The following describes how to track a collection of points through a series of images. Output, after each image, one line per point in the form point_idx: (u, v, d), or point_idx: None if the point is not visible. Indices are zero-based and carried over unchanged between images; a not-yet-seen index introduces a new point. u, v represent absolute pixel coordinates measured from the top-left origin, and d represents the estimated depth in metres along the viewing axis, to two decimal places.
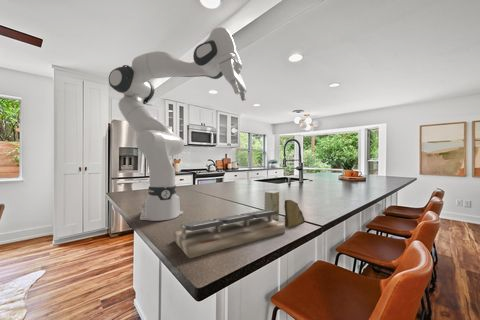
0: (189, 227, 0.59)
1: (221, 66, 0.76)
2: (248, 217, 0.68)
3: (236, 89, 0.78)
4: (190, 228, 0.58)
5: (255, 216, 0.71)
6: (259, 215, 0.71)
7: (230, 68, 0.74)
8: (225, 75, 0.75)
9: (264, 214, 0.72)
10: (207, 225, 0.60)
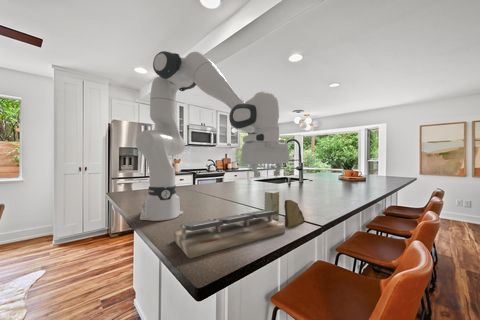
0: (189, 227, 0.59)
1: (242, 148, 0.69)
2: (248, 217, 0.68)
3: (255, 173, 0.70)
4: (190, 228, 0.58)
5: (255, 216, 0.71)
6: (259, 215, 0.71)
7: (247, 155, 0.67)
8: (242, 160, 0.69)
9: (264, 214, 0.72)
10: (207, 225, 0.60)
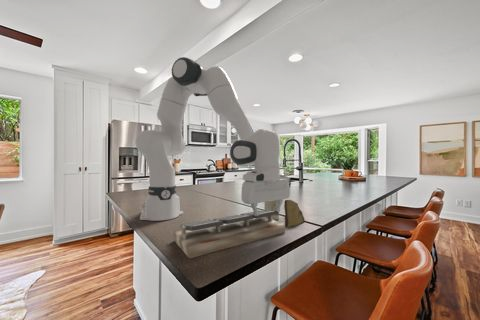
0: (189, 227, 0.59)
1: (242, 187, 0.69)
2: (248, 217, 0.68)
3: (255, 212, 0.70)
4: (190, 228, 0.58)
5: (255, 216, 0.71)
6: (259, 215, 0.71)
7: (246, 195, 0.66)
8: (242, 199, 0.69)
9: (264, 214, 0.72)
10: (207, 225, 0.60)
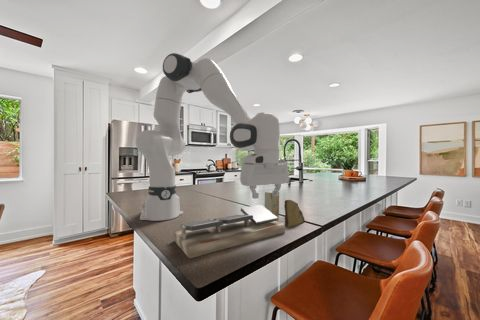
0: (189, 227, 0.59)
1: (241, 169, 0.69)
2: (248, 217, 0.68)
3: (253, 194, 0.70)
4: (190, 228, 0.58)
5: (255, 222, 0.71)
6: (259, 222, 0.71)
7: (245, 177, 0.67)
8: (241, 181, 0.69)
9: (264, 221, 0.72)
10: (207, 225, 0.60)
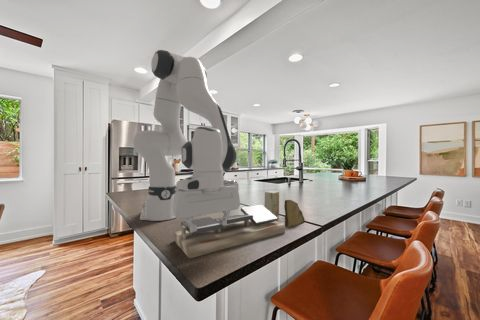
0: (189, 229, 0.59)
1: (174, 196, 0.56)
2: (248, 217, 0.68)
3: (190, 227, 0.57)
4: None
5: (255, 223, 0.71)
6: (259, 223, 0.71)
7: (176, 208, 0.53)
8: (173, 212, 0.55)
9: (264, 222, 0.72)
10: (207, 228, 0.60)
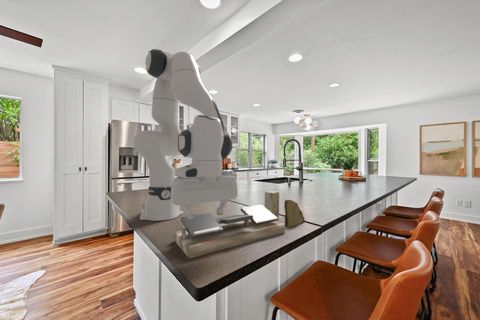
0: (189, 232, 0.59)
1: (172, 183, 0.57)
2: (248, 217, 0.68)
3: (188, 214, 0.58)
4: (190, 235, 0.58)
5: (255, 223, 0.71)
6: (259, 223, 0.71)
7: (173, 194, 0.54)
8: (170, 198, 0.56)
9: (264, 222, 0.72)
10: (207, 233, 0.60)
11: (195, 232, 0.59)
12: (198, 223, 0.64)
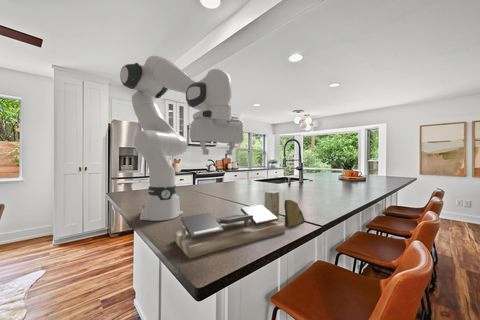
0: (189, 232, 0.59)
1: (191, 124, 0.70)
2: (248, 217, 0.68)
3: (203, 150, 0.70)
4: (190, 235, 0.58)
5: (255, 223, 0.71)
6: (259, 223, 0.71)
7: (193, 131, 0.67)
8: (190, 136, 0.69)
9: (264, 222, 0.72)
10: (207, 234, 0.60)
11: (195, 232, 0.59)
12: (198, 223, 0.63)
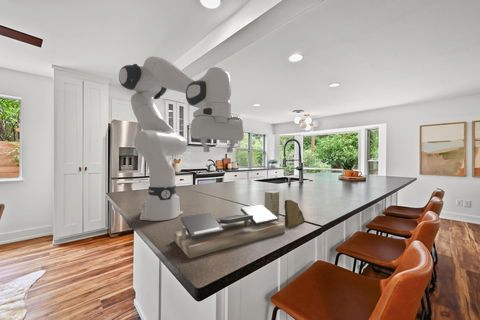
0: (189, 232, 0.59)
1: (191, 122, 0.70)
2: (248, 217, 0.68)
3: (204, 147, 0.71)
4: (190, 235, 0.58)
5: (255, 223, 0.71)
6: (259, 223, 0.71)
7: (193, 128, 0.67)
8: (190, 134, 0.69)
9: (264, 222, 0.72)
10: (207, 234, 0.60)
11: (195, 232, 0.59)
12: (198, 223, 0.63)
